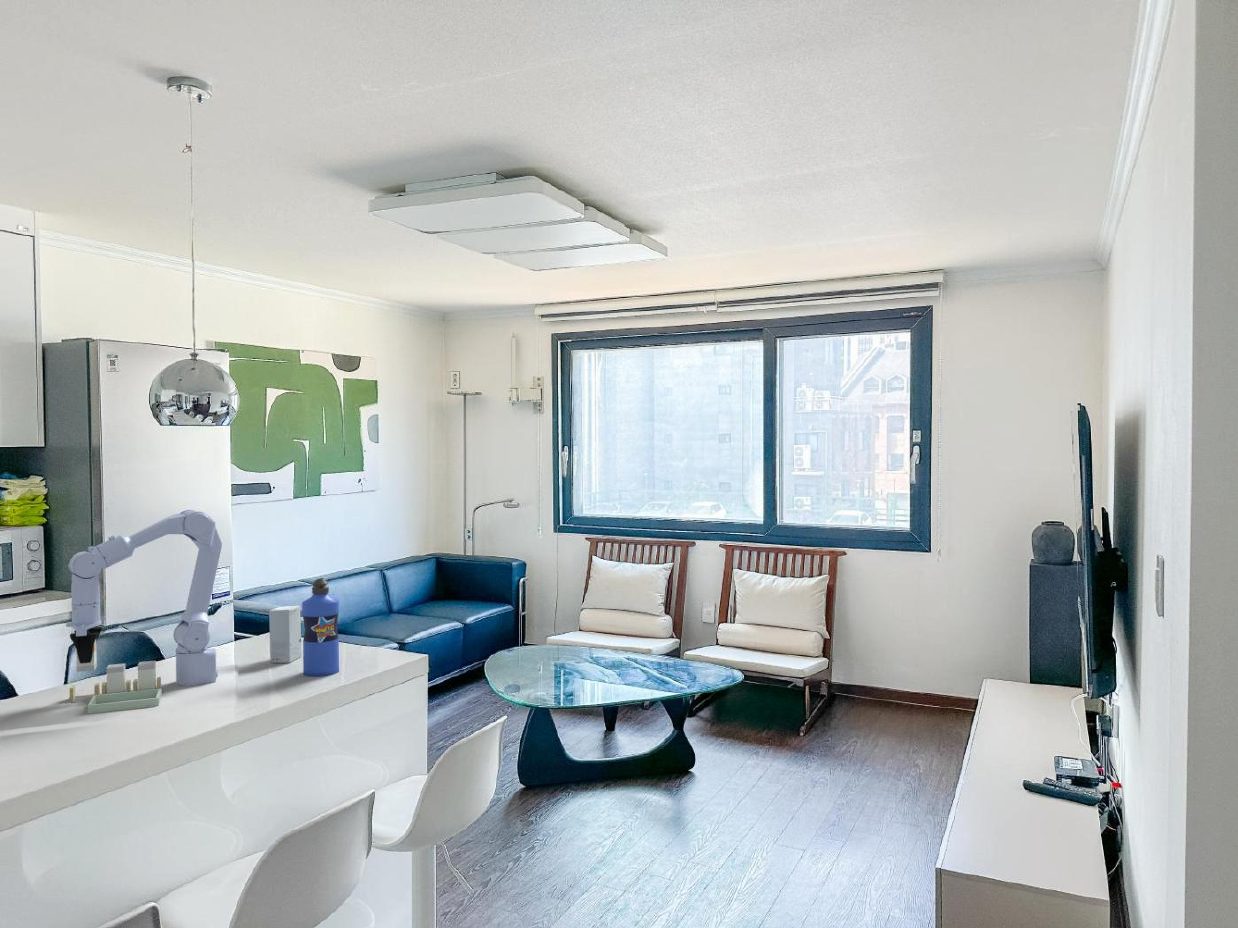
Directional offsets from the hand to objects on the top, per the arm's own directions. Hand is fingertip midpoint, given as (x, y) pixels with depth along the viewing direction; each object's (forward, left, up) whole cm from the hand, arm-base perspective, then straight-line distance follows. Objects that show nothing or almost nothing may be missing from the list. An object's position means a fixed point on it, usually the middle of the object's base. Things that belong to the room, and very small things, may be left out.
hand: (87, 660), depth 206 cm
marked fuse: (0, 0, -2) cm, 2 cm away
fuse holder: (-6, -1, -10) cm, 12 cm away
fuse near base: (-12, -1, -9) cm, 15 cm away
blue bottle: (-53, -7, -10) cm, 54 cm away
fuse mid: (-6, -1, -9) cm, 11 cm away
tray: (-9, +9, -10) cm, 16 cm away
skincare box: (-45, -26, -10) cm, 53 cm away
